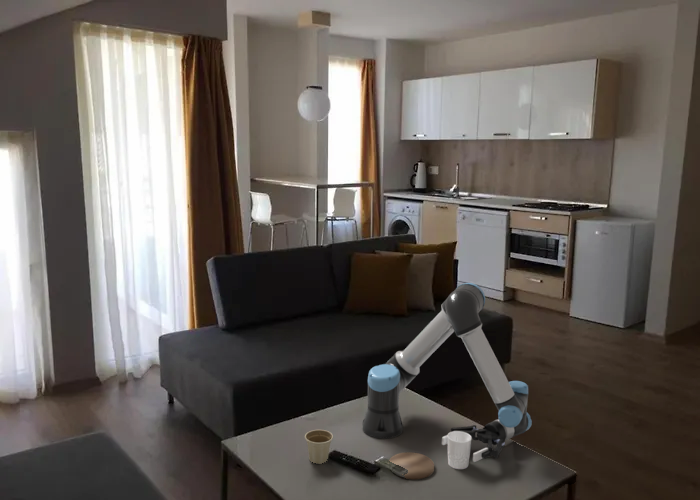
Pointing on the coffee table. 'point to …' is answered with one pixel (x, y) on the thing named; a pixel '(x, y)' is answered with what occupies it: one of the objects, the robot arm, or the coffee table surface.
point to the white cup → (459, 449)
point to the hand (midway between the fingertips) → (457, 449)
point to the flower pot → (318, 445)
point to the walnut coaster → (414, 464)
